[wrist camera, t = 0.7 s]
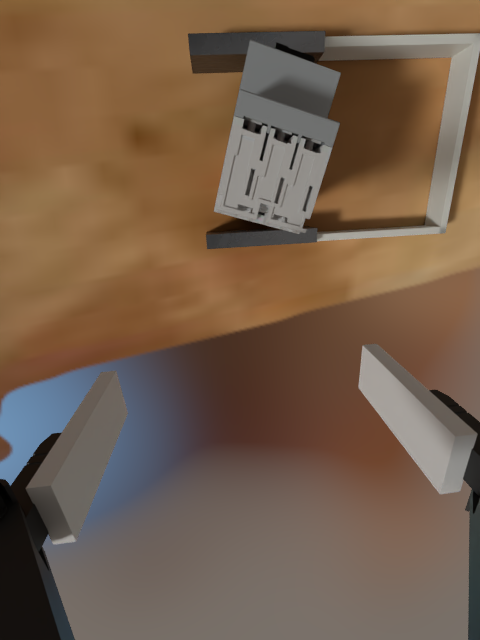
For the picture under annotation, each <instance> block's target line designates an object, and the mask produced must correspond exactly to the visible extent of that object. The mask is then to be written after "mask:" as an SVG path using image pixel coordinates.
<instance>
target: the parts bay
mask: <svg viewBox="0 0 480 640" xmlns="http://www.w3.org/2000/svg"><path fill="white" fill-rule="evenodd" d="M479 52H480V33H475V34H427V35H379V36H331V37H325V50H324V53H323V55H322V56H321V58H320V59H319V60H318V61H335V60H373V59H412V58H451V57H452V59H451V66H450V72H449V78H448V84H447V90H446V96H445V102H444V108H443V115H442V121H441V127H440V133H439V139H438V145H437V151H436V157H435V164H434V170H433V176H432V182H431V188H430V194H429V200H428V206H427V213H426V219H425V225H424V226H408V227H392V228H375V229H359V230H342V231H326V232H317V241H326V240H342V239H358V238H374V237H390V236H406V235H422V234H438V233H445V232H446V227H447V222H448V216H449V211H450V206H451V200H452V195H453V190H454V184H455V179H456V174H457V169H458V163H459V158H460V153H461V147H462V142H463V137H464V132H465V126H466V121H467V116H468V110H469V105H470V100H471V95H472V89H473V84H474V79H475V73H476V68H477V63H478V58H479Z"/></svg>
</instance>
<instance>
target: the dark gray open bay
mask: <svg viewBox="0 0 480 640" xmlns="http://www.w3.org/2000/svg"><path fill="white" fill-rule="evenodd" d="M188 38H189V49H190V58H191V65H192V71H193V73H227V72H243V70H244V66H245V61H246V56H247V52H248V47H249V42H250V39H251V40H254V41H256V42H259V43H262V44H264V45H267V46H270V47H272V48H275V46H276V42H277V43H280V44H283V45H286V46H288V48H290V49H293V50H296V51H299V52H302V53H306V54H309V55H312V56H313V57H314V58H315V61H314V63H317V62H318V60H319V59H320V58H321V56H322V55H323V53H324V50H325V31H299V32H248V33H197V34H188ZM303 229H307V230H306V233H303V232H300V234H296V233H293V232H289V231H285V230H282V229H277V228H269V229H252V230H236V231H219V232H207V233H206V240H207V249H216V248H231V247H247V246H263V245H279V244H295V243H311V242H317V228H314V227H309V226H303Z"/></svg>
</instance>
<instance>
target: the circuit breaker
mask: <svg viewBox="0 0 480 640" xmlns="http://www.w3.org/2000/svg"><path fill="white" fill-rule="evenodd" d="M314 61H315V58H314V57H313V56H312V55H309V54H306V53H302V52H299V51H296V50H293V49H290V48H288V46H286V45H283V44H280V43H277V42H276V46H275V48H272V47H270V46H267V45H264V44H262V43H259V42H256V41H254V40H251V39H250V42H249V47H248V52H247V56H246V61H245V66H244V70H243V75H242V80H241V84H240V89H239V94H238V99H237V103H236V108H235V113H234V118H233V123H232V127H231V132H230V137H229V141H228V146H227V151H226V156H225V160H224V165H223V170H222V175H221V180H220V184H219V189H218V194H217V199H216V204H215V208H214V212H218V213H222V214H225V215H229V216H233V217H236V218H240V219H244V220H247V221H251V222H255V223H259V224H262V225H266V226H270V227H274V228H277V229H282V230H285V231H289V232H293V233H296V234H300V232H303V233H306V230H307V229H303V224H304V221H305V219H310V218H311V214H312V211H313V208H314V205H315V202H316V198H317V195H318V192H319V189H320V186H321V183H322V179H323V176H324V173H325V170H326V167H327V163H328V160H329V157H330V154H331V151H332V147H333V144H334V141H335V138H336V135H337V131H338V128H339V125H340V122H337V121H334V120H331V119H328V115H329V111H330V108H331V104H332V101H333V98H334V94H335V91H336V88H337V84H338V81H339V78H340V74H341V73H340V72H337V71H334V70H332V69H329V68H326V67H324V66H321V65H318V64H316V63H314Z"/></svg>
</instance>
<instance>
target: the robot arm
mask: <svg viewBox="0 0 480 640" xmlns="http://www.w3.org/2000/svg"><path fill="white" fill-rule="evenodd" d="M359 389H360V390H361V391H362V393H363V394H364V395H365V397H366V398H367V399H368V401H369V402H370V403H371V405H372V406H373V407H374V409H375V410H376V411H377V412H378V414H379V415H380V416H381V418H383V420H384V422H385V423H386V424H387V425H388V427H389V428H390V429H391V431H392V432H393V433H394V435H395V436H396V437H397V439H398V440H399V441H400V443H401V444H402V445H403V446H404V448H405V449H406V450H407V451H408V453H409V454H410V456H411V457H412V458H413V459H414V461H415V462H416V463H417V465H418V466H419V467H420V469H421V470H422V471H423V473H424V474H425V475H426V476H427V478H428V479H429V480H430V482H431V483H432V484H433V485H434V487H435V488H436V490H437V491H438V492H439V494H445V493H452V492H460V490H461V486H462V483H463V480H465V481H466V483H467V484H468V485H469V486H470V487H471V488H472V491H471V494H470V497H469V500H468V503H467V506H466V509H465V510H467V511H469V510H470V532H469V539H470V540H469V625H468V628H469V629H468V640H480V422H479V421H478V420H477V419H475V418H474V417H473V416H472V415H471V414H469V413H467V412H466V410H465V409H463V408H462V407H461V406H459V405H458V404H457V403H456V402H455V401H454V400H453V399H451V398H450V397H449V396H447V395H445V394H444V393H442V392H440V391H438V390H428V389H427V388H425V387H424V386H423V385H422V384H421V383H420V382H419V381H418V380H417V379H415V378H414V377H413V376H412V375H411V374H410V373H409V372H408V371H407V370H405V369H404V368H403V367H402V366H401V365H400V364H399V363H398V362H396V361H395V360H394V359H393V358H392V357H391V356H390V355H389V354H388V353H386V352H385V351H384V350H383V349H382V348H381V347H380V346H379V345H377V344H370V345H363V348H362V358H361V368H360V378H359ZM127 414H128V413H127V409H126V405H125V401H124V398H123V394H122V390H121V387H120V383H119V379H118V376H117V372H116V371H110V372H101V373H100V375H99V377H98V378H97V380H96V381H95V383H94V384H93V386H92V388H91V389H90V391H89V392H88V393H87V395H86V397H85V398H84V400H83V401H82V403H81V404H80V406H79V407H78V409H77V410H76V412H75V413H74V415H73V417H72V418H71V420H70V421H69V423H68V424H67V426H66V427H65V429H64V430H63V432H62V433H54V434H51V435H50V436H49V437H48V438H47V439H46V440H44V441H43V442H42V443H41V444H40V445H39V447H38V448H37V450H36V451H35V452H34V454H33V457H31V458H30V459H29V461H28V462H27V465H26V466H24V468H23V469H22V471H21V472H20V474H19V475H18V476H17V478H16V479H15V481H14V482H13V483H12V485H11V486H10V485H9V483H8V482H7V481H6V480H3V479H0V640H75V639H74V636H73V633H72V630H71V627H70V624H69V622H68V618H67V615H66V613H65V610H64V607H63V604H62V601H61V598H60V595H59V592H58V589H57V587H56V583H55V581H54V577H53V575H52V572H51V569H50V566H49V563H48V560H47V557H46V554H45V551H44V550H43V547H42V545H43V543H44V541H45V539H46V537H47V535H48V534H49V536H50V538H51V540H52V542H53V544H61V543H68V542H76V540H77V538H78V536H79V533H80V530H81V528H82V526H83V523H84V521H85V518H86V516H87V513H88V511H89V508H90V506H91V503H92V501H93V498H94V496H95V493H96V491H97V488H98V486H99V483H100V481H101V478H102V476H103V474H104V471H105V469H106V466H107V464H108V461H109V458H110V456H111V454H112V451H113V449H114V446H115V444H116V441H117V439H118V436H119V434H120V431H121V429H122V426H123V424H124V421H125V419H126V416H127Z"/></svg>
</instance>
